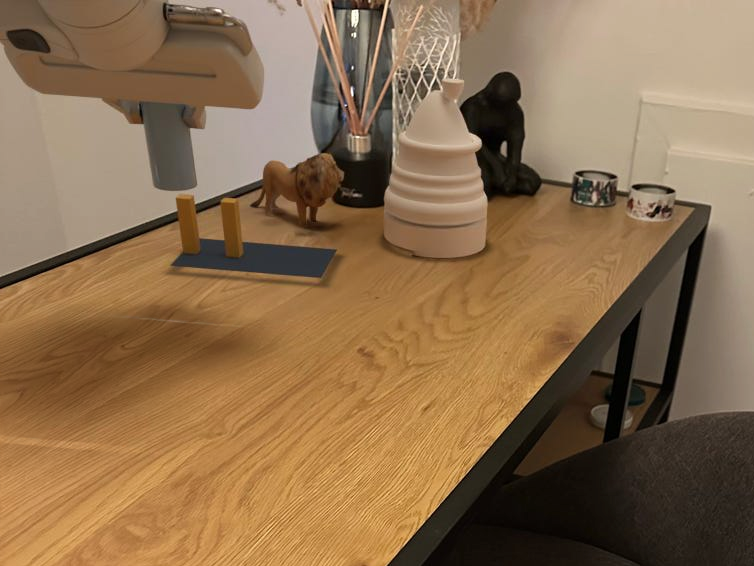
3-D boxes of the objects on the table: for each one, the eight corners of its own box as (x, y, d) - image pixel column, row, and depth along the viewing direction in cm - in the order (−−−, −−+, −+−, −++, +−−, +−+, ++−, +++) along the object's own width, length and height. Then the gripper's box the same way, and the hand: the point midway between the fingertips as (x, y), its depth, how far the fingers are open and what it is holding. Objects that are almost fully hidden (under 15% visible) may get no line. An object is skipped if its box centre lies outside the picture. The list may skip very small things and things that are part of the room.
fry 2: (226, 256, 108) (220, 201, 104) (229, 252, 109) (223, 197, 105) (240, 258, 108) (234, 202, 104) (243, 253, 109) (238, 198, 105)
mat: (170, 270, 105) (169, 265, 105) (196, 242, 113) (196, 237, 112) (321, 283, 105) (321, 277, 104) (337, 254, 112) (337, 249, 112)
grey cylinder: (147, 189, 87) (126, 64, 80) (161, 178, 90) (142, 56, 83) (189, 192, 87) (173, 67, 80) (202, 181, 90) (187, 60, 83)
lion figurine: (352, 229, 120) (349, 152, 114) (326, 239, 116) (322, 160, 111) (263, 206, 125) (257, 132, 120) (236, 215, 122) (228, 138, 116)
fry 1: (183, 253, 108) (175, 197, 104) (187, 249, 109) (179, 193, 105) (196, 254, 108) (189, 198, 104) (200, 250, 109) (193, 195, 105)
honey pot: (505, 242, 120) (517, 81, 108) (442, 265, 112) (448, 93, 100) (427, 219, 125) (431, 63, 114) (362, 239, 117) (359, 74, 106)
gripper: (246, -26, 72) (285, 95, 85) (-18, -45, 72) (63, 79, 86) (237, 51, 71) (278, 160, 85) (-29, 31, 71) (54, 144, 85)
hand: (168, 119), depth 85 cm, fingers closed on grey cylinder, 4 cm apart
